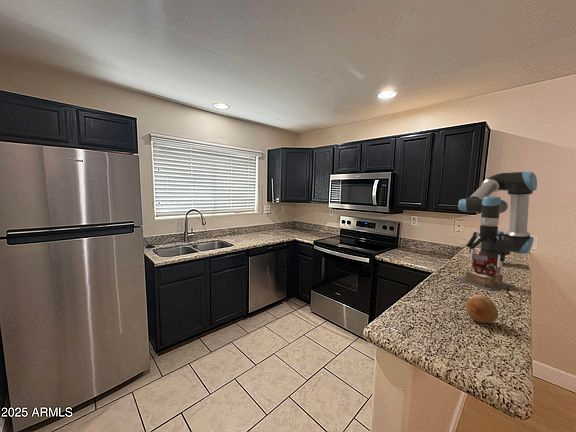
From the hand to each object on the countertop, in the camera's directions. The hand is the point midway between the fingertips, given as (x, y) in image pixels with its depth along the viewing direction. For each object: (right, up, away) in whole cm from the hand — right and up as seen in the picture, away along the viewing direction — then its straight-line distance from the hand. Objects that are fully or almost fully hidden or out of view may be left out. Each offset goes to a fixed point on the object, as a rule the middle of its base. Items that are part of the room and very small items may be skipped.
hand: (485, 263), depth 133 cm
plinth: (0, -11, +1) cm, 11 cm away
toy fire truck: (0, -6, 0) cm, 6 cm away
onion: (-34, -15, -39) cm, 54 cm away
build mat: (+1, -11, +3) cm, 12 cm away
